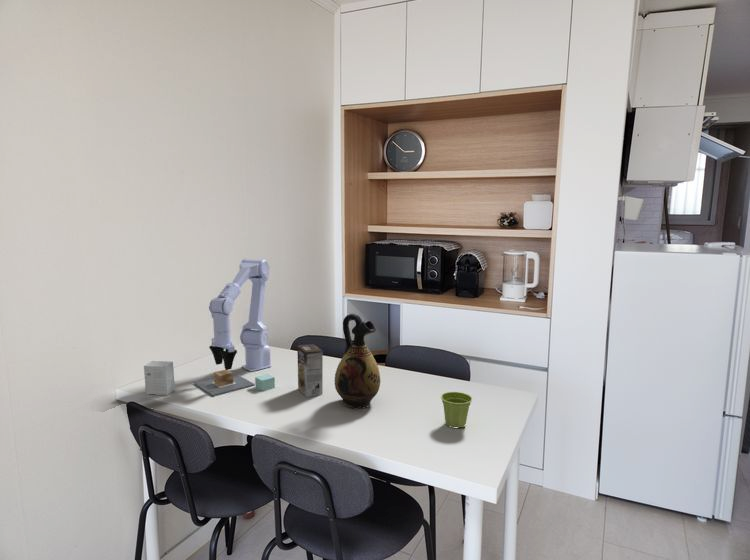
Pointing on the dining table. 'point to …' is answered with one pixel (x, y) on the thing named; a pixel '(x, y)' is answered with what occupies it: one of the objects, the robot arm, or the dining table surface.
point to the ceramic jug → (357, 366)
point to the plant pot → (456, 408)
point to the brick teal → (265, 382)
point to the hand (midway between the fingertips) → (223, 366)
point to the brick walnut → (223, 377)
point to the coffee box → (310, 370)
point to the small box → (159, 377)
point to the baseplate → (216, 390)
